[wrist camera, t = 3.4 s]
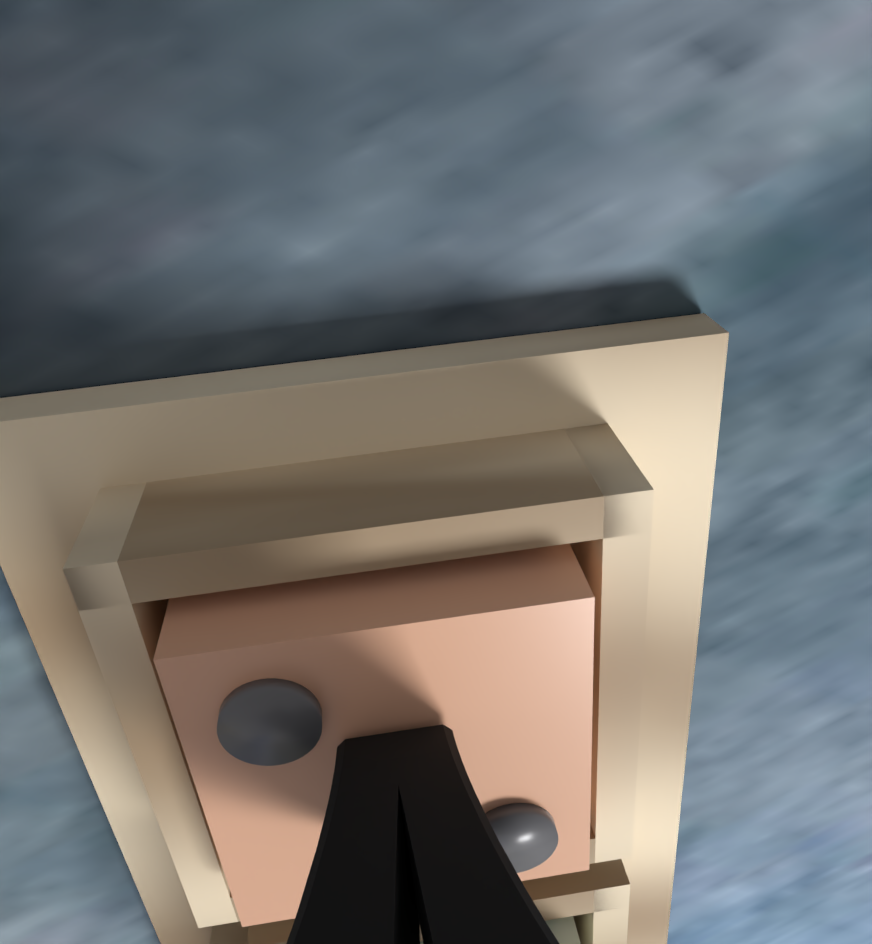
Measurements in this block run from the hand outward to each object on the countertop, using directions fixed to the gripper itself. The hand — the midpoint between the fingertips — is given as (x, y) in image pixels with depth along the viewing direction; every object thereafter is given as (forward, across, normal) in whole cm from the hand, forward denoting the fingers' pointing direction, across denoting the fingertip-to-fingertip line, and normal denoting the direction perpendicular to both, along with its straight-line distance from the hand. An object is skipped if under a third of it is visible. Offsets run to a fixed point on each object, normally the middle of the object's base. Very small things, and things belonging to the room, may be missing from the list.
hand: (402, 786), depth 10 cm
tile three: (+3, 0, 0) cm, 3 cm away
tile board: (+3, 0, +8) cm, 8 cm away
